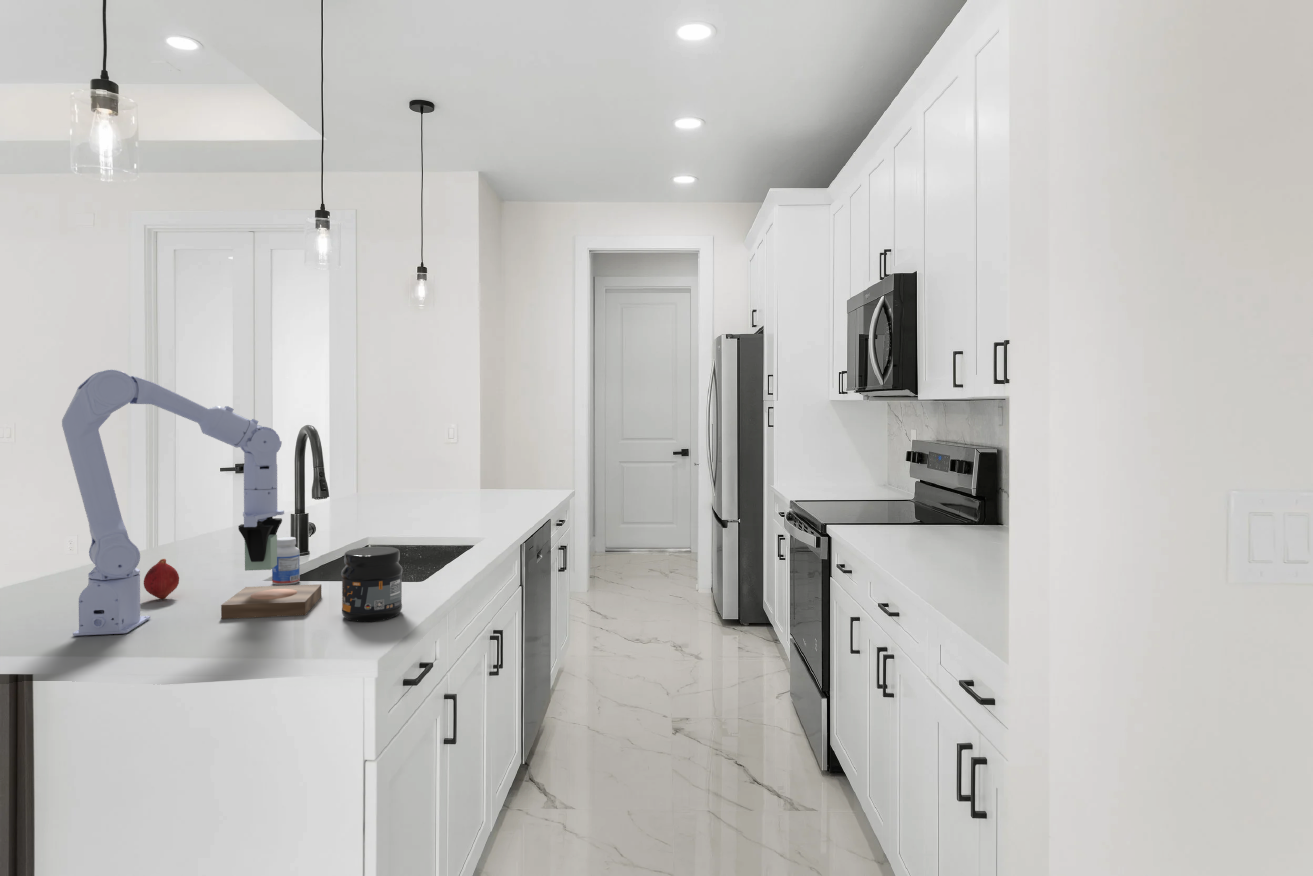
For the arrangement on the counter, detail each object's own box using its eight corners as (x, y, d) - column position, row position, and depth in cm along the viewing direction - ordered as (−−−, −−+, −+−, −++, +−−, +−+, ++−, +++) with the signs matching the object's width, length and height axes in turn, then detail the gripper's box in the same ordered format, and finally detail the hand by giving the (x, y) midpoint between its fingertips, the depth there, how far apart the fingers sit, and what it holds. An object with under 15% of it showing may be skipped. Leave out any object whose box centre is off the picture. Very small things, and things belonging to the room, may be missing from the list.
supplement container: (342, 610, 142) (342, 547, 141) (401, 606, 145) (401, 544, 145) (340, 625, 132) (340, 558, 131) (403, 620, 136) (403, 554, 135)
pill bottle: (272, 581, 164) (272, 537, 164) (299, 579, 167) (299, 535, 166) (271, 586, 159) (271, 541, 159) (299, 584, 162) (299, 539, 161)
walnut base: (305, 615, 138) (305, 601, 138) (221, 618, 135) (221, 604, 135) (321, 596, 152) (321, 584, 151) (245, 599, 148) (245, 586, 148)
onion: (150, 604, 144) (150, 563, 144) (139, 599, 147) (138, 559, 147) (184, 598, 148) (183, 558, 148) (172, 594, 152) (172, 554, 152)
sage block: (270, 569, 143) (270, 538, 143) (244, 570, 142) (244, 539, 142) (277, 564, 147) (276, 534, 147) (252, 565, 146) (251, 535, 146)
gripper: (273, 492, 138) (273, 565, 138) (292, 484, 152) (292, 551, 152) (231, 493, 136) (231, 567, 137) (254, 484, 150) (254, 552, 151)
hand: (261, 558), depth 144 cm, fingers closed on sage block, 4 cm apart
